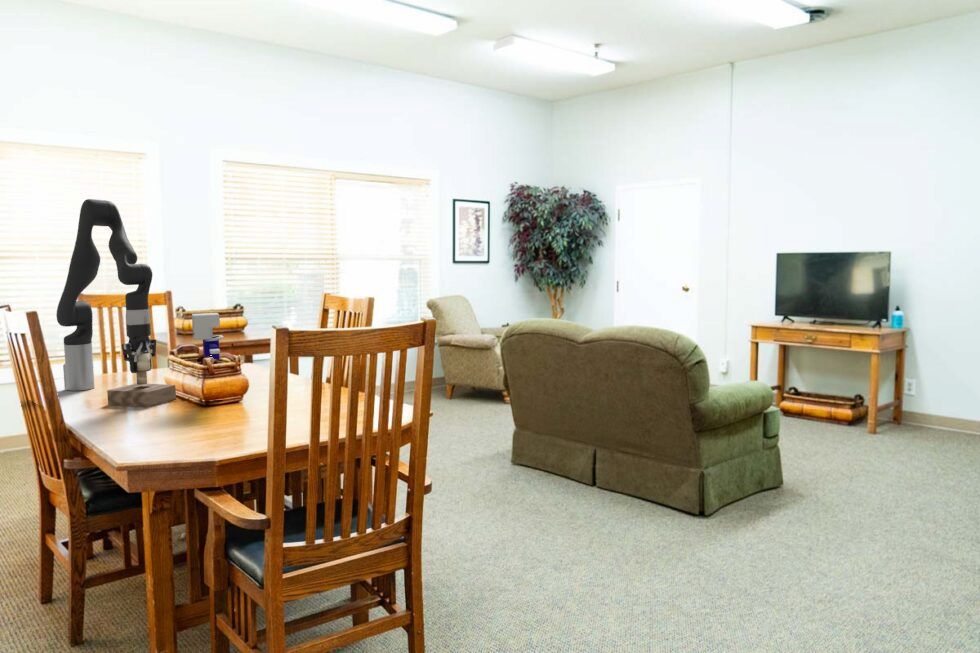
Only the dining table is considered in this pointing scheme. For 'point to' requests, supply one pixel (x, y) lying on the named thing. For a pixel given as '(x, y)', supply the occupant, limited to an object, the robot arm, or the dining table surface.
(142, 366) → the peg
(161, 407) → the dining table surface
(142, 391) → the grey wooden block
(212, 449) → the dining table surface
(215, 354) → the toy
